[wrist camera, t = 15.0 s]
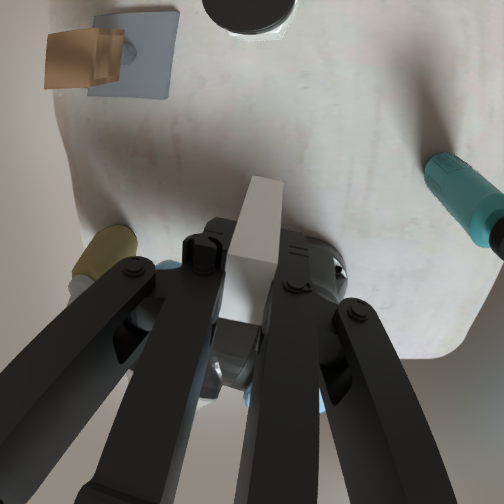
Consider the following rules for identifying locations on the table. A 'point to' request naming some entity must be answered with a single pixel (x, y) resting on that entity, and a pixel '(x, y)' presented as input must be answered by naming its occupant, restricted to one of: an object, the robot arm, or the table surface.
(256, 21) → the jar
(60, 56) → the brown wooden cube
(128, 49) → the post
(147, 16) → the base plate
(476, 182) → the beverage bottle
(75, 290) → the squeeze bottle
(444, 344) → the table surface
